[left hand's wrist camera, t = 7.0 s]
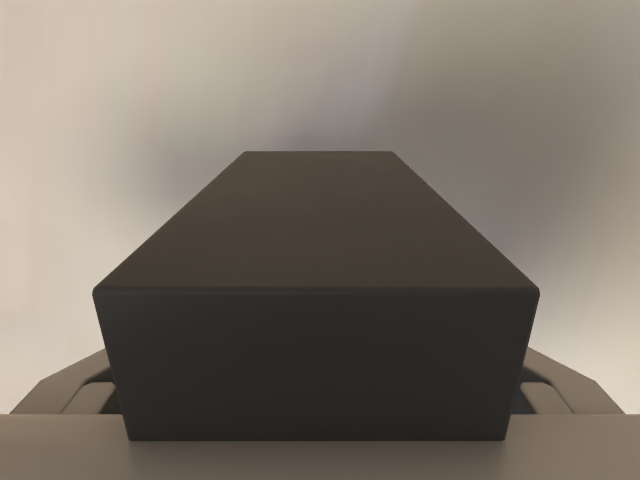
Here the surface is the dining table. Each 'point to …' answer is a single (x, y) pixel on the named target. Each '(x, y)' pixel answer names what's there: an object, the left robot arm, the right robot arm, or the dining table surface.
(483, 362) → the bar
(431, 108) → the dining table surface
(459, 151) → the dining table surface
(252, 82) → the dining table surface
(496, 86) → the dining table surface
